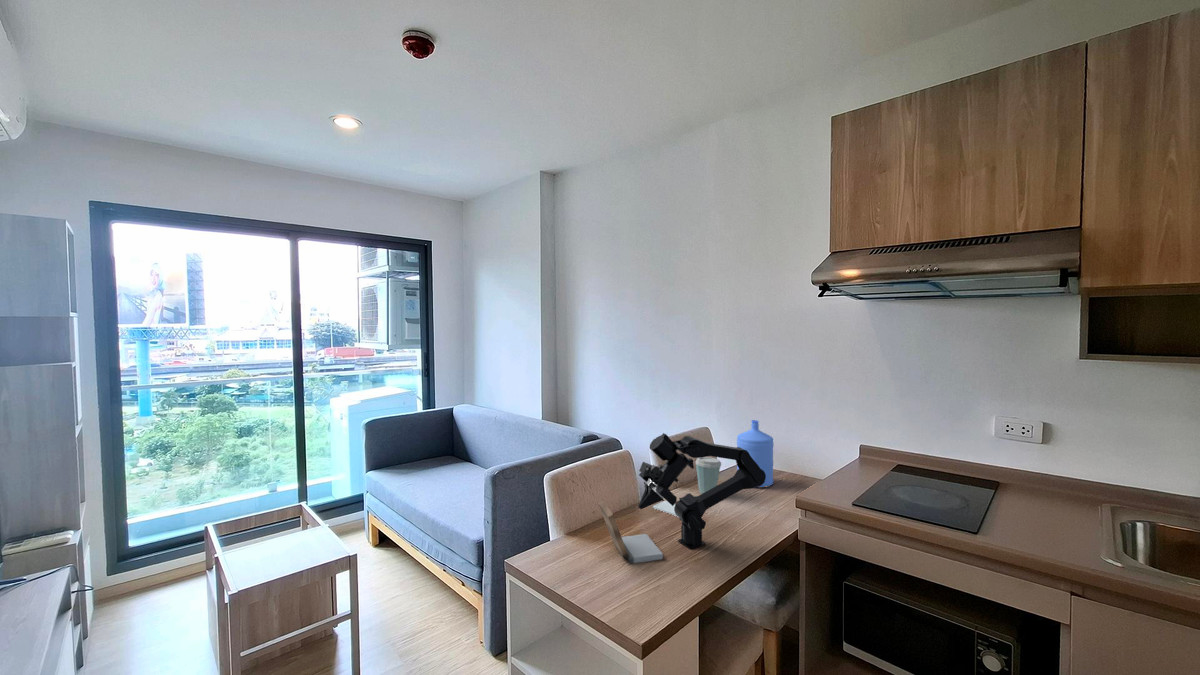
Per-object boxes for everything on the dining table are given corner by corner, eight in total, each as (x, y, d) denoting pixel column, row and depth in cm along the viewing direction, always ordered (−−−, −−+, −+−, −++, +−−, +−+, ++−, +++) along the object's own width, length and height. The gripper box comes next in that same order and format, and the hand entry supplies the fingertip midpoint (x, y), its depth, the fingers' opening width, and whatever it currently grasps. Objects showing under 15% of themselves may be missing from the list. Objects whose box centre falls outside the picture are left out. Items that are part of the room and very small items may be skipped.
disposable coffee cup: (701, 487, 202) (701, 453, 202) (725, 492, 196) (725, 457, 195) (690, 494, 193) (691, 459, 193) (715, 500, 187) (715, 463, 187)
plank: (612, 541, 149) (617, 538, 149) (623, 559, 137) (628, 556, 138) (597, 502, 148) (602, 500, 148) (608, 517, 136) (613, 514, 136)
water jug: (768, 491, 198) (768, 425, 197) (732, 484, 206) (732, 422, 206) (776, 481, 211) (777, 419, 210) (742, 475, 219) (742, 416, 219)
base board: (646, 538, 153) (646, 533, 153) (662, 559, 140) (662, 553, 140) (616, 542, 150) (616, 537, 150) (630, 563, 137) (630, 558, 137)
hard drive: (652, 505, 179) (679, 514, 170) (665, 500, 185) (691, 508, 176) (652, 510, 179) (679, 519, 170) (665, 504, 185) (691, 512, 176)
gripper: (644, 446, 155) (613, 482, 152) (666, 462, 137) (631, 503, 134) (666, 467, 157) (636, 502, 154) (691, 485, 139) (657, 526, 136)
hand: (639, 507), depth 145 cm, fingers closed
